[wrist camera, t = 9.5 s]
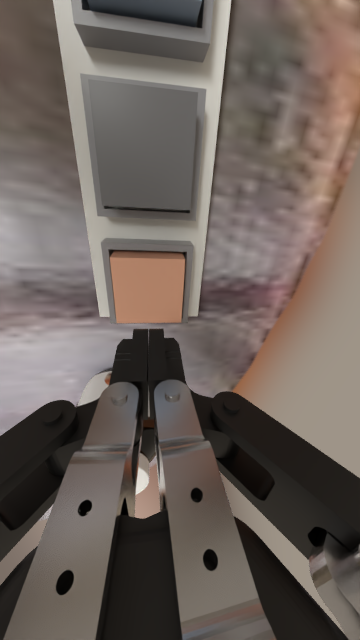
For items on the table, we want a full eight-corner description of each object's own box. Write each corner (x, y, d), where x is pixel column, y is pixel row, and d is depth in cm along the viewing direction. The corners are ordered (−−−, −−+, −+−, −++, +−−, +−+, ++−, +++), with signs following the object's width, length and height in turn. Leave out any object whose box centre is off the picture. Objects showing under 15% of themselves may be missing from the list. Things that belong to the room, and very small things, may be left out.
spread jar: (168, 372, 29) (177, 464, 19) (146, 424, 34) (144, 518, 24) (74, 354, 26) (26, 453, 16) (65, 414, 31) (24, 518, 21)
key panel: (40, -165, 11) (-14, -336, 7) (235, -117, 12) (269, -245, 8) (103, 307, 24) (95, 327, 20) (194, 307, 25) (201, 326, 21)
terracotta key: (114, 250, 18) (109, 257, 16) (181, 252, 19) (185, 259, 17) (120, 310, 21) (116, 323, 19) (178, 310, 21) (181, 322, 19)
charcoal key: (98, 97, 13) (87, 79, 11) (191, 108, 14) (198, 92, 12) (108, 204, 16) (102, 205, 14) (185, 208, 16) (190, 210, 14)
